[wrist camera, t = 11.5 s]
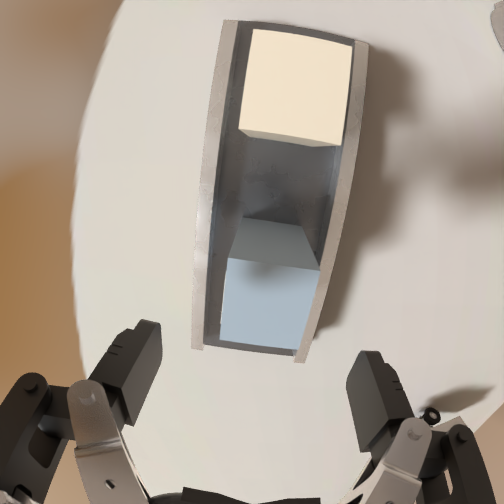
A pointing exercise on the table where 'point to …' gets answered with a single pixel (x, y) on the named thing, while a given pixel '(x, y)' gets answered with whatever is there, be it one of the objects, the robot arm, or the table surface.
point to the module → (268, 285)
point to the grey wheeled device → (434, 417)
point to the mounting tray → (267, 184)
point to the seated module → (295, 89)
